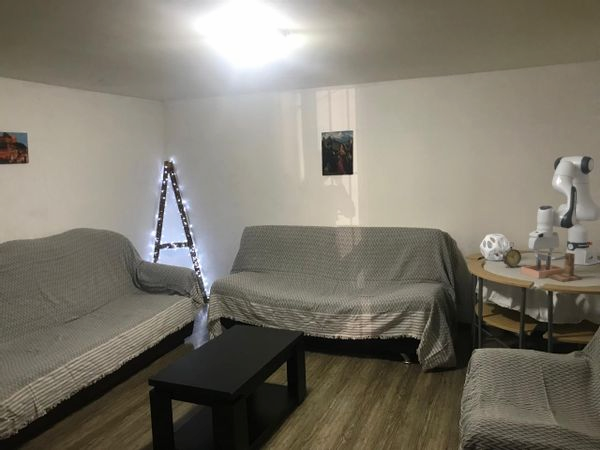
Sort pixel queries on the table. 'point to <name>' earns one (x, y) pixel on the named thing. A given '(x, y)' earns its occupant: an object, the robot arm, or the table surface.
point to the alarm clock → (511, 257)
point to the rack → (566, 269)
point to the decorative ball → (494, 246)
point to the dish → (541, 274)
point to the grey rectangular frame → (544, 258)
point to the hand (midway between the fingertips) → (543, 255)
